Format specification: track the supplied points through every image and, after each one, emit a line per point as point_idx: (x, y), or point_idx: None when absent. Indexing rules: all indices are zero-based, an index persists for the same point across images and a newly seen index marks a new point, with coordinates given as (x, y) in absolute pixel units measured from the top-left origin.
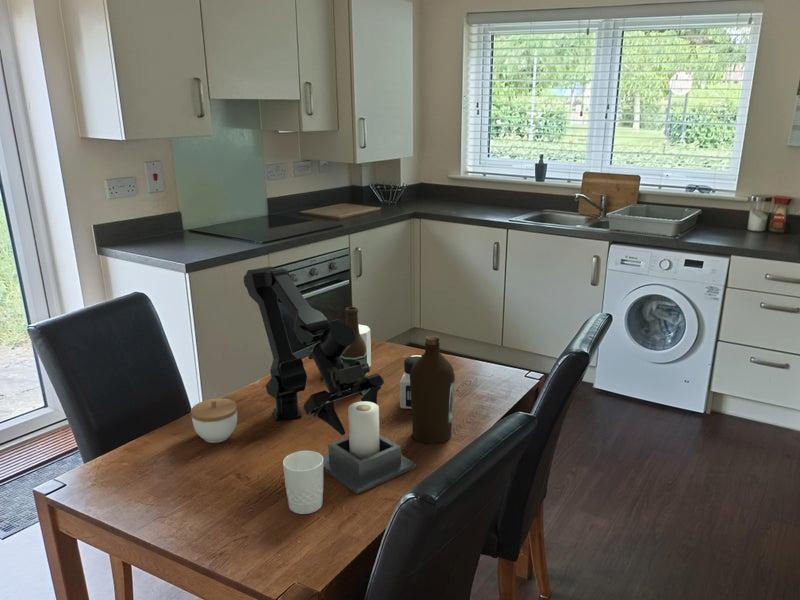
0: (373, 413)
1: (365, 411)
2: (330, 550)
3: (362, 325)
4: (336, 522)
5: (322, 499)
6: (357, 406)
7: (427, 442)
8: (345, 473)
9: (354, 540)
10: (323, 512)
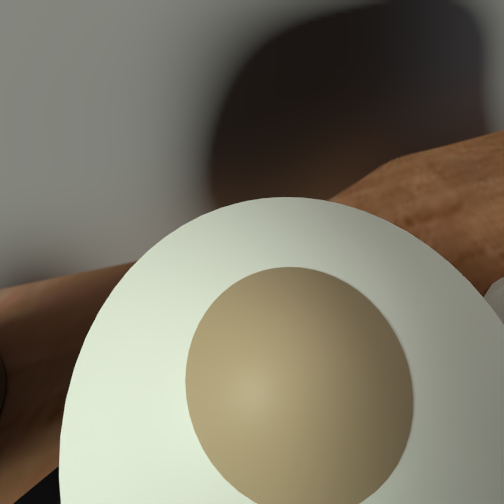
0: (272, 202)
1: (327, 263)
2: (492, 168)
3: None
4: (460, 220)
5: (492, 290)
6: (358, 490)
7: (2, 370)
8: None
9: (438, 166)
10: (485, 266)
